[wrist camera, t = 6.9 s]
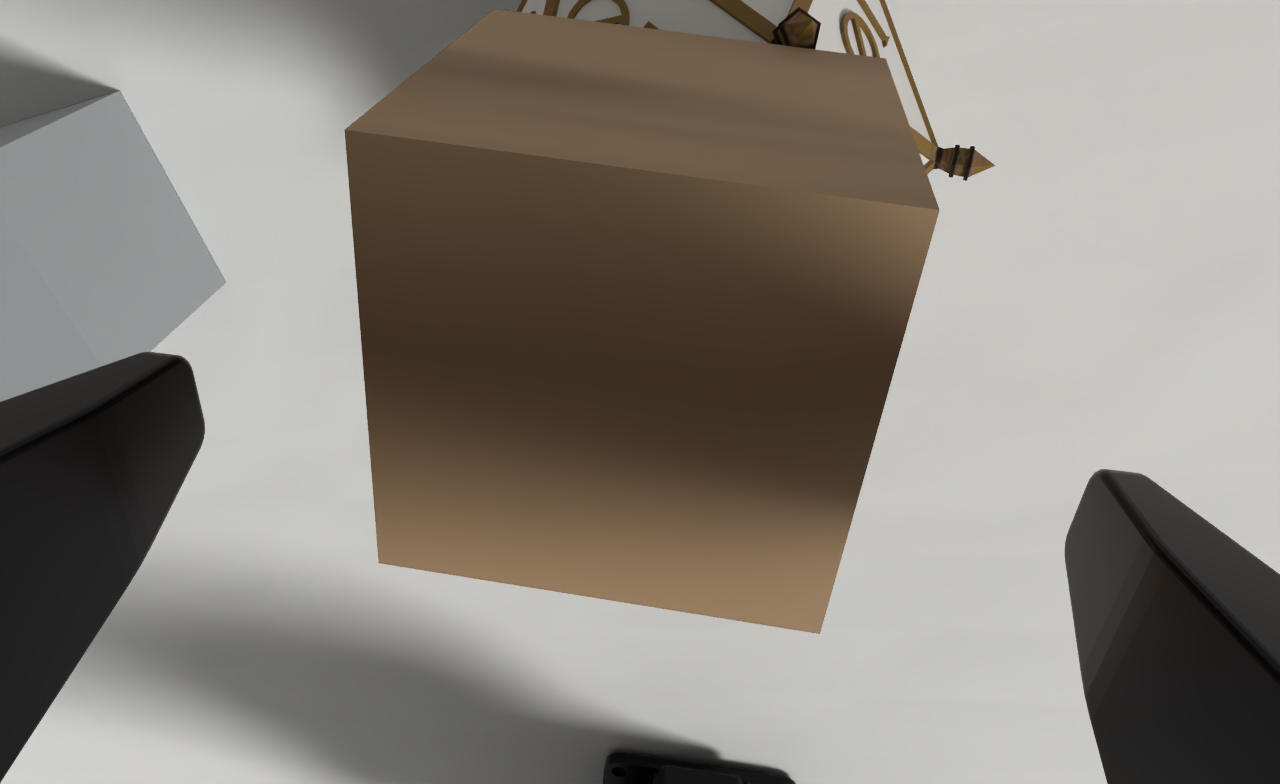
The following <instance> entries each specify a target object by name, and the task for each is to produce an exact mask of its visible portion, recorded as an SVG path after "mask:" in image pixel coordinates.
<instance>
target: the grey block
mask: <svg viewBox="0 0 1280 784" xmlns="http://www.w3.org/2000/svg"><path fill="white" fill-rule="evenodd" d="M225 283H226V281H225V279H224V277H223V275H222V274H221V272H220V270H219V268H218V266H217V264H216V263H215V261H214V259H213V257H212V255H211V254H210V252H209V250H208V248H207V246H206V245H205V243H204V241H203V239H202V237H201V236H200V234H199V232H198V230H197V228H196V227H195V225H194V223H193V221H192V219H191V218H190V216H189V214H188V212H187V210H186V209H185V207H184V205H183V203H182V201H181V200H180V198H179V196H178V194H177V192H176V191H175V189H174V187H173V185H172V183H171V182H170V180H169V178H168V176H167V174H166V173H165V171H164V169H163V167H162V165H161V164H160V162H159V160H158V158H157V156H156V155H155V153H154V151H153V149H152V147H151V145H150V144H149V142H148V140H147V138H146V136H145V135H144V133H143V131H142V129H141V127H140V126H139V124H138V122H137V120H136V118H135V117H134V115H133V113H132V111H131V109H130V108H129V106H128V104H127V102H126V100H125V99H124V97H123V95H122V93H121V91H117V92H113V93H110V94H107V95H103V96H100V97H97V98H94V99H90V100H87V101H84V102H80V103H77V104H74V105H71V106H67V107H64V108H61V109H57V110H54V111H51V112H47V113H44V114H41V115H38V116H34V117H31V118H28V119H24V120H21V121H18V122H15V123H11V124H8V125H5V126H1V127H0V402H1V401H4V400H7V399H10V398H12V397H15V396H18V395H21V394H24V393H27V392H30V391H32V390H35V389H38V388H41V387H44V386H47V385H49V384H52V383H55V382H58V381H61V380H64V379H67V378H69V377H72V376H75V375H78V374H81V373H84V372H87V371H89V370H92V369H95V368H98V367H101V366H104V365H107V364H109V363H112V362H115V361H118V360H121V359H124V358H127V357H129V356H132V355H135V354H138V353H141V352H150V351H151V350H152V349H153V348H155V347H156V346H157V345H158V344H159V343H160V342H161V341H162V340H163V339H164V338H166V337H167V336H168V335H169V334H170V333H171V332H172V331H173V330H174V329H175V328H177V327H178V326H179V325H180V324H181V323H182V322H183V321H184V320H185V319H186V318H188V317H189V316H190V315H191V314H192V313H193V312H194V311H195V310H196V309H197V308H199V307H200V306H201V305H202V304H203V303H204V302H205V301H206V300H207V299H208V298H210V297H211V296H212V295H213V294H214V293H215V292H216V291H217V290H218V289H219V288H221V287H222V286H223V285H224V284H225Z"/></svg>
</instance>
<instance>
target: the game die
mask: <svg viewBox="0 0 1280 784" xmlns="http://www.w3.org/2000/svg"><path fill="white" fill-rule="evenodd" d="M517 12H524V13H531V14H539V15H547V16H555V17H563V18H571V19H579V20H587V21H595V22H602V23H610V24H618V25H626V26H634V27H642V28H650V29H658V30H666V31H673V32H681V33H689V34H697V35H705V36H713V37H721V38H729V39H737V40H744V41H752V42H760V43H768V44H776V45H784V46H792V47H800V48H808V49H815V50H823V51H831V52H839V53H847V54H855V55H863V56H871V57H879V58H886V60H887V63H888V66H889V69H890V72H891V75H892V77H893V80H894V83H895V86H896V89H897V92H898V94H899V97H900V100H901V103H902V106H903V109H904V111H905V114H906V117H907V120H908V123H909V126H910V128H911V131H912V134H913V137H914V140H915V143H916V145H917V148H918V151H919V154H920V157H921V159H922V162H923V165H924V168H925V171H926V174H928V173H929V172H930V171H932V170H933V169H941V170H943V171H945V172H947V173H949V177H953V175H958V176H963V177H964V179H963V180H966V181H967V178H968V177H969V176H972V175H974V174H976V173H979V172H981V171H984V170H986V169H988V168H991V167H993V166H995V165H994V164H992V163H991V162H990V161H989V160H987V159H986V158H985V157H983V156H982V155H981V154H979V153H978V152H977V151H976V150H974V149H975V147H974V146H971V147H970V149H966V148H959V147H960V145H956V146H955V148H947V149H943V148H940V147H938V145H937V142H936V139H935V137H934V134H933V131H932V128H931V126H930V123H929V120H928V118H927V115H926V112H925V109H924V107H923V104H922V101H921V98H920V96H919V93H918V90H917V87H916V85H915V82H914V79H913V76H912V74H911V71H910V68H909V65H908V63H907V60H906V57H905V54H904V52H903V49H902V46H901V43H900V41H899V38H898V35H897V33H896V30H895V27H894V24H893V22H892V19H891V16H890V13H889V11H888V8H887V5H886V2H885V0H522V2H521V4H520V6H519V8H518V10H517Z"/></svg>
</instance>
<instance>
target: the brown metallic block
mask: <svg viewBox="0 0 1280 784" xmlns="http://www.w3.org/2000/svg"><path fill="white" fill-rule="evenodd" d="M345 139H346V151H347V164H348V177H349V190H350V202H351V215H352V228H353V241H354V253H355V266H356V279H357V291H358V304H359V317H360V330H361V342H362V355H363V368H364V381H365V393H366V406H367V419H368V432H369V444H370V457H371V470H372V483H373V495H374V508H375V521H376V534H377V546H378V559H379V563H382V564H388V565H394V566H400V567H407V568H413V569H419V570H425V571H432V572H438V573H444V574H450V575H456V576H463V577H469V578H475V579H481V580H488V581H494V582H500V583H506V584H513V585H519V586H525V587H531V588H537V589H544V590H550V591H556V592H562V593H569V594H575V595H581V596H587V597H594V598H600V599H606V600H612V601H618V602H625V603H631V604H637V605H643V606H650V607H656V608H662V609H668V610H675V611H681V612H687V613H693V614H699V615H706V616H712V617H718V618H724V619H731V620H737V621H743V622H749V623H756V624H762V625H768V626H774V627H780V628H787V629H793V630H799V631H805V632H812V633H818V634H820V631H821V628H822V624H823V621H824V617H825V614H826V610H827V606H828V603H829V599H830V596H831V592H832V589H833V585H834V582H835V578H836V575H837V571H838V567H839V564H840V560H841V557H842V553H843V550H844V546H845V543H846V539H847V536H848V532H849V529H850V525H851V521H852V518H853V514H854V511H855V507H856V504H857V500H858V497H859V493H860V490H861V486H862V482H863V479H864V475H865V472H866V468H867V465H868V461H869V458H870V454H871V451H872V447H873V443H874V440H875V436H876V433H877V429H878V426H879V422H880V419H881V415H882V412H883V408H884V405H885V401H886V397H887V394H888V390H889V387H890V383H891V380H892V376H893V373H894V369H895V366H896V362H897V358H898V355H899V351H900V348H901V344H902V341H903V337H904V334H905V330H906V327H907V323H908V319H909V316H910V312H911V309H912V305H913V302H914V298H915V295H916V291H917V288H918V284H919V280H920V277H921V273H922V270H923V266H924V263H925V259H926V256H927V252H928V249H929V245H930V242H931V238H932V234H933V231H934V227H935V224H936V220H937V217H938V213H939V208H938V205H937V202H936V199H935V196H934V193H933V191H932V188H931V185H930V182H929V179H928V176H927V174H926V171H925V168H924V165H923V162H922V159H921V157H920V154H919V151H918V148H917V145H916V143H915V140H914V137H913V134H912V131H911V128H910V126H909V123H908V120H907V117H906V114H905V111H904V109H903V106H902V103H901V100H900V97H899V94H898V92H897V89H896V86H895V83H894V80H893V77H892V75H891V72H890V69H889V66H888V63H887V60H886V58H879V57H871V56H863V55H855V54H847V53H839V52H831V51H823V50H815V49H808V48H800V47H792V46H784V45H776V44H768V43H760V42H752V41H744V40H737V39H729V38H721V37H713V36H705V35H697V34H689V33H681V32H673V31H666V30H658V29H650V28H642V27H634V26H626V25H618V24H610V23H602V22H595V21H587V20H579V19H571V18H563V17H555V16H547V15H539V14H531V13H524V12H516V11H508V10H500V9H494V10H492V11H491V12H490V13H489V14H487V15H486V16H485V17H484V18H482V19H481V20H480V21H479V22H477V23H476V24H475V25H474V26H473V27H471V28H470V29H469V30H468V31H466V32H465V33H464V34H463V35H461V36H460V37H459V38H458V39H456V40H455V41H454V42H453V43H451V44H450V45H449V46H448V47H447V48H445V49H444V50H443V51H442V52H440V53H439V54H438V55H437V56H435V57H434V58H433V59H432V60H430V61H429V62H428V63H427V64H426V65H424V66H423V67H422V68H421V69H419V70H418V71H417V72H416V73H414V74H413V75H412V76H411V77H409V78H408V79H407V80H406V81H404V82H403V83H402V84H401V85H400V86H398V87H397V88H396V89H395V90H393V91H392V92H391V93H390V94H388V95H387V96H386V97H385V98H383V99H382V100H381V101H380V102H379V103H377V104H376V105H375V106H374V107H372V108H371V109H370V110H369V111H367V112H366V113H365V114H364V115H362V116H361V117H360V118H359V119H357V120H356V121H355V122H354V123H353V124H351V125H350V126H349V127H348V128H346V129H345Z"/></svg>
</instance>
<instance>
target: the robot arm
mask: <svg viewBox="0 0 1280 784" xmlns="http://www.w3.org/2000/svg"><path fill="white" fill-rule="evenodd" d="M204 433H205V423H204V417H203V413H202V409H201V404H200V400H199V396H198V391H197V387H196V383H195V378H194V374H193V370H192V367H191V365H190V364H189V362H188V361H187V360H186V359H185V358H183V357H182V356H179V355H171V354H163V353H155V352H141V353H138V354H135V355H132V356H129V357H127V358H124V359H121V360H118V361H115V362H112V363H109V364H107V365H104V366H101V367H98V368H95V369H92V370H89V371H87V372H84V373H81V374H78V375H75V376H72V377H69V378H67V379H64V380H61V381H58V382H55V383H52V384H49V385H47V386H44V387H41V388H38V389H35V390H32V391H30V392H27V393H24V394H21V395H18V396H15V397H12V398H10V399H7V400H4V401H1V402H0V782H1V781H2V779H3V778H4V776H5V775H6V773H7V772H8V770H9V769H10V767H11V765H12V764H13V762H14V761H15V759H16V758H17V756H18V755H19V753H20V752H21V750H22V749H23V747H24V745H25V744H26V742H27V741H28V739H29V738H30V736H31V735H32V733H33V732H34V730H35V729H36V727H37V725H38V724H39V722H40V721H41V719H42V718H43V716H44V715H45V713H46V712H47V710H48V709H49V707H50V705H51V704H52V702H53V701H54V699H55V698H56V696H57V695H58V693H59V692H60V690H61V689H62V687H63V685H64V684H65V682H66V681H67V679H68V678H69V676H70V675H71V673H72V672H73V670H74V669H75V667H76V665H77V664H78V662H79V661H80V659H81V658H82V656H83V655H84V653H85V652H86V650H87V649H88V647H89V645H90V644H91V642H92V641H93V639H94V638H95V636H96V635H97V633H98V632H99V630H100V629H101V627H102V625H103V624H104V622H105V621H106V619H107V618H108V616H109V615H110V613H111V612H112V610H113V609H114V607H115V605H116V604H117V602H118V601H119V599H120V598H121V596H122V595H123V593H124V592H125V590H126V589H127V587H128V585H129V584H130V582H131V581H132V579H133V577H134V576H135V574H136V572H137V571H138V569H139V567H140V566H141V564H142V562H143V560H144V558H145V557H146V555H147V553H148V551H149V549H150V548H151V546H152V544H153V542H154V540H155V538H156V536H157V534H158V532H159V530H160V528H161V526H162V524H163V522H164V520H165V518H166V516H167V514H168V512H169V510H170V508H171V506H172V504H173V502H174V500H175V498H176V496H177V494H178V492H179V490H180V488H181V486H182V484H183V482H184V480H185V478H186V476H187V474H188V472H189V470H190V468H191V466H192V464H193V462H194V460H195V458H196V456H197V454H198V452H199V450H200V448H201V445H202V442H203V439H204ZM1065 563H1066V570H1067V577H1068V584H1069V591H1070V598H1071V605H1072V613H1073V620H1074V627H1075V634H1076V641H1077V648H1078V655H1079V663H1080V670H1081V676H1082V682H1083V688H1084V694H1085V699H1086V703H1087V707H1088V712H1089V716H1090V720H1091V724H1092V727H1093V731H1094V735H1095V739H1096V742H1097V746H1098V750H1099V754H1100V757H1101V761H1102V765H1103V768H1104V772H1105V776H1106V780H1107V783H1108V784H1280V574H1279V573H1277V572H1276V571H1274V570H1273V569H1272V568H1270V567H1269V566H1268V565H1266V564H1265V563H1264V562H1262V561H1261V560H1259V559H1258V558H1257V557H1255V556H1254V555H1253V554H1251V553H1250V552H1249V551H1247V550H1246V549H1245V548H1243V547H1242V546H1240V545H1239V544H1238V543H1236V542H1235V541H1234V540H1232V539H1231V538H1230V537H1228V536H1227V535H1225V534H1224V533H1223V532H1221V531H1220V530H1219V529H1217V528H1216V527H1215V526H1213V525H1212V524H1211V523H1209V522H1208V521H1206V520H1205V519H1204V518H1202V517H1201V516H1200V515H1198V514H1197V513H1196V512H1194V511H1193V510H1191V509H1190V508H1189V507H1187V506H1186V505H1185V504H1183V503H1182V502H1181V501H1179V500H1178V499H1177V498H1175V497H1174V496H1172V495H1171V494H1170V493H1168V492H1167V491H1166V490H1164V489H1163V488H1162V487H1160V486H1159V485H1158V484H1156V483H1155V482H1153V481H1152V480H1151V479H1149V478H1148V477H1146V476H1145V475H1142V474H1139V473H1133V472H1125V471H1116V470H1108V469H1101V470H1099V471H1097V472H1095V473H1094V474H1093V476H1092V477H1091V478H1090V480H1089V482H1088V484H1087V486H1086V489H1085V491H1084V494H1083V496H1082V499H1081V501H1080V504H1079V506H1078V509H1077V511H1076V514H1075V516H1074V518H1073V521H1072V523H1071V526H1070V528H1069V531H1068V534H1067V537H1066V542H1065ZM603 784H796V783H795V782H794V781H793V780H791V779H790V778H786V777H781V776H774V775H768V774H761V773H754V772H748V771H741V770H734V769H727V768H721V767H714V766H707V765H701V764H694V763H687V762H681V761H674V760H667V759H660V758H654V757H647V756H640V755H634V754H627V753H616V752H615V753H612V754H610V755H608V756H607V758H606V762H605V767H604V778H603Z"/></svg>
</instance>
